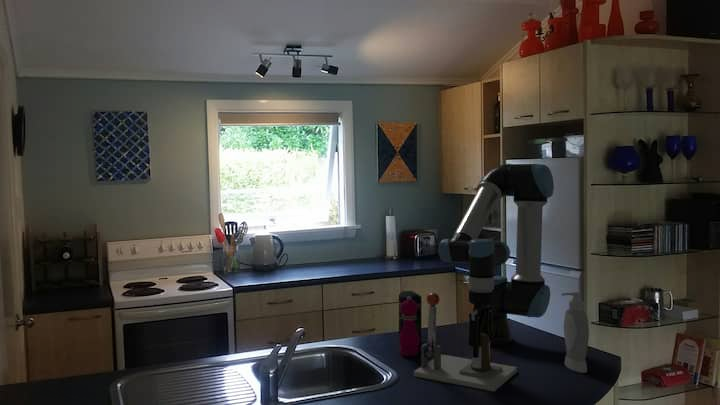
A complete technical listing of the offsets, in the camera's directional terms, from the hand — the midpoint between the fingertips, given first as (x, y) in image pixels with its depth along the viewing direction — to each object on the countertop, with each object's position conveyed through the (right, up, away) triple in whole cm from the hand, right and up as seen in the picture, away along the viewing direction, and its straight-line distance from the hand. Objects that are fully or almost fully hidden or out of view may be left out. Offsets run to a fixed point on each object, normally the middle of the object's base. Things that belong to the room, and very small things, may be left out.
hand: (481, 364), depth 199 cm
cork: (0, -2, 0) cm, 2 cm away
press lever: (-15, +1, +4) cm, 16 cm away
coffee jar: (-19, -2, +38) cm, 42 cm away
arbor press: (-5, -4, +3) cm, 7 cm away
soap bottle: (+30, -3, +7) cm, 31 cm away
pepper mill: (-20, -3, +25) cm, 32 cm away
